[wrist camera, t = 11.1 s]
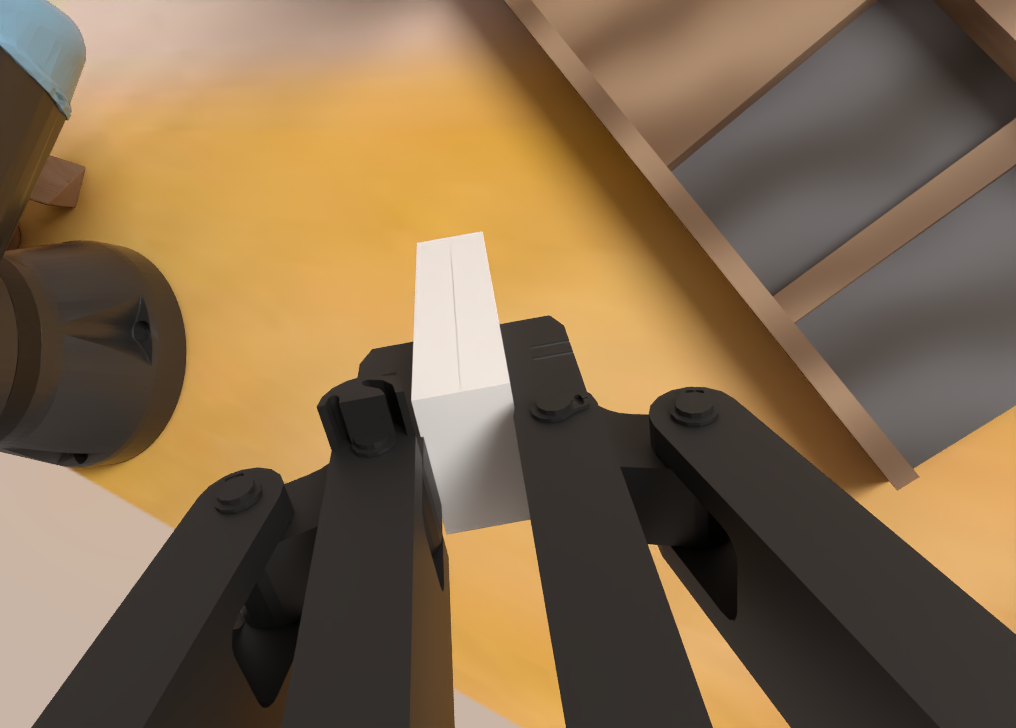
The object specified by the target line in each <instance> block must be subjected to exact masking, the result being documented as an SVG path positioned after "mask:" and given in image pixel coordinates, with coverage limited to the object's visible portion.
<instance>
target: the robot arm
mask: <svg viewBox="0 0 1016 728" xmlns="http://www.w3.org/2000/svg"><path fill="white" fill-rule="evenodd" d="M85 61H86V47H85V44H84V40H83V37H82V34H81V32H80V30H79V29H78V27H77V25H76V24H75V23H74V21H73V20H72V19H71V18H70V17H69V16H67V15H66V14H65V13H64V12H62V11H61V10H60V9H58V8H57V7H56V6H54V5H53V4H51V3H50V2H48V1H47V0H0V452H4V453H8V454H12V455H17V456H21V457H25V458H30V459H34V460H38V461H42V462H47V463H51V464H56V465H60V466H65V467H74V468H84V467H93V466H102V465H111V464H117V463H121V462H124V461H126V460H129V459H131V458H133V457H135V456H136V455H138V454H139V453H141V452H142V451H144V450H145V449H146V448H147V447H148V446H150V445H151V444H152V443H153V442H154V440H155V439H156V438H157V437H158V436H159V435H160V433H161V432H162V431H163V429H164V428H165V426H166V425H167V423H168V421H169V419H170V418H171V416H172V413H173V411H174V409H175V407H176V404H177V402H178V399H179V396H180V392H181V389H182V384H183V380H184V374H185V365H186V338H185V330H184V324H183V319H182V315H181V311H180V308H179V305H178V302H177V300H176V297H175V295H174V293H173V291H172V289H171V287H170V285H169V283H168V282H167V280H166V279H165V277H164V276H163V274H162V273H161V272H160V271H159V269H158V268H157V267H156V266H155V265H154V264H153V263H152V262H150V261H149V260H148V259H147V258H145V257H144V256H143V255H141V254H139V253H137V252H135V251H133V250H131V249H128V248H125V247H121V246H116V245H111V244H106V243H101V242H96V241H81V240H79V241H70V242H63V243H59V244H50V245H43V246H36V247H29V248H22V249H15V250H9V251H6V249H7V247H8V245H9V243H10V240H11V238H12V236H13V234H14V232H15V229H16V227H17V225H18V223H19V221H20V218H21V216H22V214H23V212H24V210H25V208H26V205H27V203H28V201H29V199H30V197H31V194H32V192H33V190H34V188H35V186H36V183H37V181H38V179H39V177H40V175H41V173H42V170H43V168H44V166H45V164H46V162H47V159H48V157H49V155H50V153H51V151H52V148H53V146H54V144H55V142H56V140H57V137H58V135H59V133H60V131H61V129H62V127H63V124H64V122H65V120H69V118H70V116H71V115H70V113H71V112H72V110H71V106H70V102H71V99H72V97H73V94H74V91H75V88H76V86H77V83H78V80H79V78H80V75H81V72H82V70H83V67H84V64H85ZM317 409H318V412H319V415H320V418H321V421H322V424H323V427H324V429H325V432H326V435H327V438H328V441H329V444H330V447H331V450H332V452H331V457H330V463H329V464H327V465H326V466H324V467H323V468H321V469H320V470H318V471H315V472H313V473H311V474H309V475H307V476H304V477H302V478H299V479H297V480H294V481H292V482H289V483H286V484H284V482H283V480H282V477H281V475H280V474H278V473H277V472H275V471H273V470H272V469H266V468H252V469H245V470H240V471H237V472H235V473H231V474H229V475H227V476H225V477H223V478H221V479H220V480H218V481H217V482H215V483H214V484H212V485H210V486H209V487H208V488H207V489H206V490H205V491H204V492H203V493H202V494H201V495H200V496H199V497H198V499H197V500H196V501H195V503H194V504H193V505H192V507H191V508H190V510H189V511H188V512H187V514H186V515H185V517H184V518H183V519H182V521H181V522H180V523H179V525H178V526H177V528H176V529H175V530H174V532H173V533H172V534H171V536H170V537H169V539H168V540H167V542H166V543H165V544H164V545H163V547H162V548H161V550H160V551H159V552H158V554H157V555H156V557H155V558H154V559H153V561H152V562H151V563H150V565H149V566H148V568H147V569H146V570H145V572H144V573H143V574H142V576H141V577H140V579H139V580H138V581H137V583H136V584H135V586H134V587H133V588H132V590H131V591H130V592H129V594H128V595H127V596H126V598H125V599H124V601H123V602H122V603H121V605H120V606H119V608H118V609H117V610H116V612H115V613H114V615H113V616H112V617H111V619H110V620H109V621H108V623H107V624H106V625H105V627H104V628H103V630H102V631H101V632H100V634H99V635H98V636H97V638H96V639H95V641H94V642H93V644H92V645H91V646H90V647H89V649H88V650H87V652H86V653H85V654H84V656H83V657H82V659H81V660H80V661H79V663H78V664H77V666H76V667H75V668H74V670H73V671H72V672H71V674H70V675H69V676H68V678H67V679H66V681H65V682H64V683H63V685H62V686H61V687H60V689H59V690H58V692H57V693H56V694H55V696H54V697H53V699H52V700H51V701H50V703H49V704H48V705H47V707H46V708H45V710H44V711H43V712H42V714H41V715H40V717H39V718H38V719H37V721H36V722H35V723H34V725H33V726H32V727H31V728H455V726H454V699H453V698H454V697H453V669H452V642H451V614H450V586H449V558H448V554H447V550H446V546H445V542H444V539H443V535H442V519H443V523H444V526H445V530H446V534H452V533H458V532H463V531H469V530H474V529H480V528H485V527H491V526H496V525H502V524H507V523H513V522H518V521H524V520H530V519H531V525H532V531H533V536H534V542H535V548H536V554H537V560H538V566H539V572H540V577H541V583H542V589H543V595H544V601H545V607H546V613H547V619H548V624H549V630H550V636H551V642H552V648H553V654H554V660H555V665H556V671H557V677H558V683H559V689H560V695H561V701H562V706H563V712H564V718H565V724H566V728H713V727H712V724H711V721H710V718H709V716H708V713H707V710H706V707H705V704H704V702H703V699H702V696H701V693H700V690H699V688H698V685H697V682H696V679H695V676H694V673H693V671H692V668H691V665H690V662H689V659H688V657H687V654H686V651H685V648H684V645H683V643H682V640H681V637H680V634H679V631H678V628H677V626H676V623H675V620H674V617H673V614H672V612H671V609H670V606H669V603H668V600H667V598H666V595H665V592H664V589H663V586H662V583H661V581H660V578H659V575H658V572H657V569H656V567H655V564H654V561H653V558H652V555H651V553H650V550H649V547H648V544H654V545H658V547H659V550H660V552H661V554H662V556H663V558H664V559H665V560H666V562H667V563H668V564H669V566H670V567H671V568H672V570H673V571H674V572H675V574H676V575H677V576H678V578H679V579H680V580H681V582H682V583H683V584H684V586H685V587H686V588H687V590H688V591H689V592H690V594H691V595H692V596H693V598H694V599H695V600H696V602H697V603H698V604H699V606H700V607H701V608H702V610H703V611H704V612H705V614H706V615H707V616H708V618H709V619H710V620H711V622H712V623H713V624H714V626H715V627H716V628H717V630H718V631H719V632H720V634H721V635H722V636H723V638H724V639H725V640H726V642H727V643H728V644H729V646H730V647H731V648H732V650H733V651H734V652H735V654H736V655H737V656H738V658H739V659H740V660H741V662H742V663H743V664H744V666H745V667H746V668H747V670H748V671H749V672H750V674H751V675H752V676H753V678H754V679H755V680H756V682H757V683H758V684H759V686H760V687H761V688H762V690H763V691H764V692H765V694H766V695H767V696H768V698H769V699H770V700H771V702H772V703H773V704H774V706H775V707H776V708H777V710H778V711H779V712H780V714H781V715H782V716H783V718H784V719H785V720H786V722H787V723H788V724H789V726H790V727H791V728H1016V634H1015V633H1013V632H1012V631H1011V630H1010V629H1009V628H1007V627H1006V626H1005V625H1004V624H1003V623H1002V622H1000V621H999V620H998V619H997V618H996V617H994V616H993V615H992V614H991V613H990V612H988V611H987V610H986V609H985V608H984V607H982V606H981V605H980V604H979V603H978V602H976V601H975V600H974V599H973V598H972V597H970V596H969V595H968V594H967V593H966V592H964V591H963V590H962V589H961V588H960V587H959V586H957V585H956V584H955V583H954V582H953V581H951V580H950V579H949V578H948V577H947V576H945V575H944V574H943V573H942V572H941V571H939V570H938V569H937V568H936V567H935V566H933V565H932V564H931V563H930V562H929V561H927V560H926V559H925V558H924V557H923V556H921V555H920V554H919V553H918V552H917V551H916V550H914V549H913V548H912V547H911V546H910V545H908V544H907V543H906V542H905V541H904V540H902V539H901V538H900V537H899V536H898V535H896V534H895V533H894V532H893V531H892V530H890V529H889V528H888V527H887V526H886V525H884V524H883V523H882V522H881V521H880V520H878V519H877V518H876V517H875V516H874V515H872V514H871V513H870V512H869V511H868V510H867V509H865V508H864V507H863V506H862V505H861V504H859V503H858V502H857V501H856V500H855V499H853V498H852V497H851V496H850V495H849V494H847V493H846V492H845V491H844V490H843V489H841V488H840V487H839V486H838V485H837V484H835V483H834V482H833V481H832V480H831V479H829V478H828V477H827V476H826V475H825V474H824V473H822V472H821V471H820V470H819V469H818V468H816V467H815V466H814V465H813V464H812V463H810V462H809V461H808V460H807V459H806V458H804V457H803V456H802V455H801V454H800V453H798V452H797V451H796V450H795V449H794V448H792V447H791V446H790V445H789V444H788V443H786V442H785V441H784V440H783V439H782V438H780V437H779V436H778V435H777V434H776V433H775V432H773V431H772V430H771V429H770V428H769V427H767V426H766V425H765V424H764V423H763V422H761V421H760V420H759V419H758V418H757V417H755V416H754V415H753V414H752V413H751V412H749V411H748V410H747V409H746V408H745V407H743V406H742V405H741V404H740V403H739V402H737V401H736V400H735V399H734V398H732V397H730V396H729V395H727V394H725V393H723V392H722V391H718V390H714V389H710V388H706V387H686V388H681V389H676V390H671V391H669V392H667V393H665V394H663V395H661V396H659V397H658V398H657V399H656V400H655V401H654V402H653V403H652V405H651V406H650V411H649V415H642V414H624V413H617V412H613V411H610V410H607V409H604V408H602V407H600V406H598V403H597V401H596V400H595V399H594V397H593V396H592V395H591V394H590V393H588V392H587V391H586V388H585V385H584V382H583V379H582V376H581V373H580V370H579V368H578V365H577V362H576V359H575V356H574V353H573V350H572V347H571V345H570V342H569V339H568V336H567V333H566V330H565V327H564V325H562V324H561V323H560V322H558V321H557V320H555V319H554V318H552V317H551V316H543V317H538V318H532V319H526V320H521V321H515V322H510V323H504V324H499V319H498V314H497V309H496V303H495V298H494V292H493V287H492V281H491V276H490V270H489V265H488V259H487V254H486V248H485V243H484V237H483V232H482V231H481V232H476V233H470V234H464V235H459V236H453V237H448V238H442V239H437V240H431V241H425V242H420V243H417V259H416V286H415V313H414V340H413V342H410V343H404V344H398V345H393V346H387V347H382V348H376V349H372V350H371V351H370V353H369V354H368V355H367V356H366V357H365V359H364V360H363V361H362V362H361V363H360V366H359V372H358V378H356V379H352V380H349V381H346V382H344V383H342V384H340V385H338V386H336V387H334V388H332V389H331V390H330V391H329V392H328V393H326V394H325V395H324V396H323V397H322V398H321V400H320V402H319V404H318V405H317Z"/></svg>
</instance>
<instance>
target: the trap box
mask: <svg viewBox="0 0 1016 728" xmlns="http://www.w3.org/2000/svg"><path fill="white" fill-rule="evenodd" d="M504 1H505V2H506V4H507V5H508V6H509V7H510V8H511V10H512V11H513V12H514V13H515V15H516V16H517V17H518V18H519V20H520V21H521V22H522V23H523V25H524V26H525V27H526V28H527V30H528V31H529V32H530V33H531V35H532V36H533V37H534V38H535V40H536V41H537V42H538V43H539V45H540V46H541V47H542V48H543V50H544V51H545V52H546V53H547V55H548V56H549V57H550V58H551V60H552V61H553V62H554V63H555V65H556V66H557V67H558V68H559V70H560V71H561V72H562V73H563V75H564V76H565V77H566V78H567V80H568V81H569V82H570V83H571V85H572V86H573V87H574V88H575V90H576V91H577V92H578V93H579V95H580V96H581V97H582V98H583V100H584V101H585V102H586V103H587V105H588V106H589V107H590V108H591V110H592V111H593V112H594V113H595V115H596V116H597V117H598V118H599V120H600V121H601V122H602V123H603V125H604V126H605V127H606V128H607V130H608V131H609V132H610V133H611V135H612V136H613V137H614V138H615V140H616V141H617V142H618V143H619V145H620V146H621V147H622V148H623V150H624V151H625V152H626V153H627V155H628V156H629V157H630V158H631V159H632V161H633V162H634V163H635V164H636V166H637V167H638V168H639V169H640V171H641V172H642V173H643V174H644V176H645V177H646V178H647V179H648V181H649V182H650V183H651V184H652V186H653V187H654V188H655V189H656V191H657V192H658V193H659V194H660V196H661V197H662V198H663V199H664V201H665V202H666V203H667V204H668V206H669V207H670V208H671V209H672V211H673V212H674V213H675V214H676V216H677V217H678V218H679V219H680V221H681V222H682V223H683V224H684V226H685V227H686V228H687V229H688V231H689V232H690V233H691V234H692V236H693V237H694V238H695V239H696V241H697V242H698V243H699V244H700V246H701V247H702V248H703V249H704V251H705V252H706V253H707V254H708V256H709V257H710V258H711V259H712V261H713V262H714V263H715V264H716V266H717V267H718V268H719V269H720V271H721V272H722V273H723V274H724V276H725V277H726V278H727V279H728V281H729V282H730V283H731V284H732V286H733V287H734V288H735V289H736V291H737V292H738V293H739V294H740V296H741V297H742V298H743V299H744V301H745V302H746V303H747V304H748V306H749V307H750V308H751V309H752V311H753V312H754V313H755V314H756V315H757V317H758V318H759V319H760V320H761V322H762V323H763V324H764V325H765V327H766V328H767V329H768V330H769V332H770V333H771V334H772V335H773V337H774V338H775V339H776V340H777V342H778V343H779V344H780V345H781V347H782V348H783V349H784V350H785V352H786V353H787V354H788V355H789V357H790V358H791V359H792V360H793V362H794V363H795V364H796V365H797V367H798V368H799V369H800V370H801V372H802V373H803V374H804V375H805V377H806V378H807V379H808V380H809V382H810V383H811V384H812V385H813V387H814V388H815V389H816V390H817V392H818V393H819V394H820V395H821V397H822V398H823V399H824V400H825V402H826V403H827V404H828V405H829V407H830V408H831V409H832V410H833V412H834V413H835V414H836V415H837V417H838V418H839V419H840V420H841V422H842V423H843V424H844V425H845V427H846V428H847V429H848V430H849V432H850V433H851V434H852V435H853V437H854V438H855V439H856V440H857V442H858V443H859V444H860V445H861V447H862V448H863V449H864V450H865V452H866V453H867V454H868V455H869V457H870V458H871V459H872V460H873V462H874V463H875V464H876V465H877V466H878V468H879V469H880V470H881V471H882V473H883V474H884V475H885V476H886V478H887V479H888V480H889V481H890V483H891V484H892V485H893V486H894V487H895V489H896V490H899V489H901V488H902V487H904V486H906V485H907V484H909V483H910V482H912V481H914V480H915V479H917V478H919V476H918V474H917V473H916V472H915V471H914V470H913V468H915V467H916V466H918V465H920V464H921V463H923V462H925V461H926V460H928V459H929V458H931V457H933V456H934V455H936V454H938V453H939V452H941V451H942V450H944V449H946V448H947V447H949V446H951V445H952V444H954V443H955V442H957V441H959V440H960V439H962V438H964V437H965V436H967V435H968V434H970V433H972V432H973V431H975V430H977V429H978V428H980V427H981V426H983V425H985V424H986V423H988V422H990V421H991V420H993V419H994V418H996V417H998V416H999V415H1001V414H1002V413H1004V412H1006V411H1007V410H1009V409H1011V408H1012V407H1014V406H1015V405H1016V0H504Z"/></svg>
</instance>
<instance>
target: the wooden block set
mask: <svg viewBox="0 0 1016 728" xmlns="http://www.w3.org/2000/svg"><path fill="white" fill-rule="evenodd" d="M84 172H85V167H84V166H81V165H78V164H75V163H72V162H69V161H65V160H62V159H59V158H56V157H53V156H50V155H49V157H48V159H47V162H46V164H45V166H44V168H43V170H42V173H41V175H40V177H39V179H38V181H37V183H36V186H35V188H34V190H33V192H32V194H31V197H30V199H29V200H33V201H36V202H39V203H42V204H45V205H52V206H62V207H72V208H75V207H76V203H77V200H78V196H79V192H80V188H81V184H82V180H83V176H84ZM19 243H20V231H19V227H18V225H17V227H16V229H15V232H14V234H13V236H12V238H11V240H10V243H9V245H8V247H7V249H6V251H9V250H15V249H17V248H18V246H19Z"/></svg>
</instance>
